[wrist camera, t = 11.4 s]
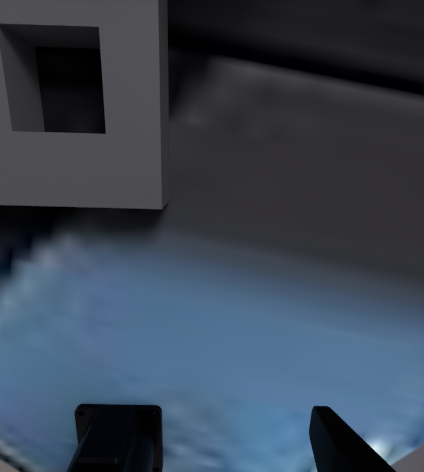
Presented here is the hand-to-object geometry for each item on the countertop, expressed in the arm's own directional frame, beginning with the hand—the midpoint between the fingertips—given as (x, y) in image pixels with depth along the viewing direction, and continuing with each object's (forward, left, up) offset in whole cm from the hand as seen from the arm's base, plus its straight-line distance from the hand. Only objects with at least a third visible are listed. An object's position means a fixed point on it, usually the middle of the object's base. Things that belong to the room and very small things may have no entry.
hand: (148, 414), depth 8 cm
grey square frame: (+10, +6, -12) cm, 17 cm away
